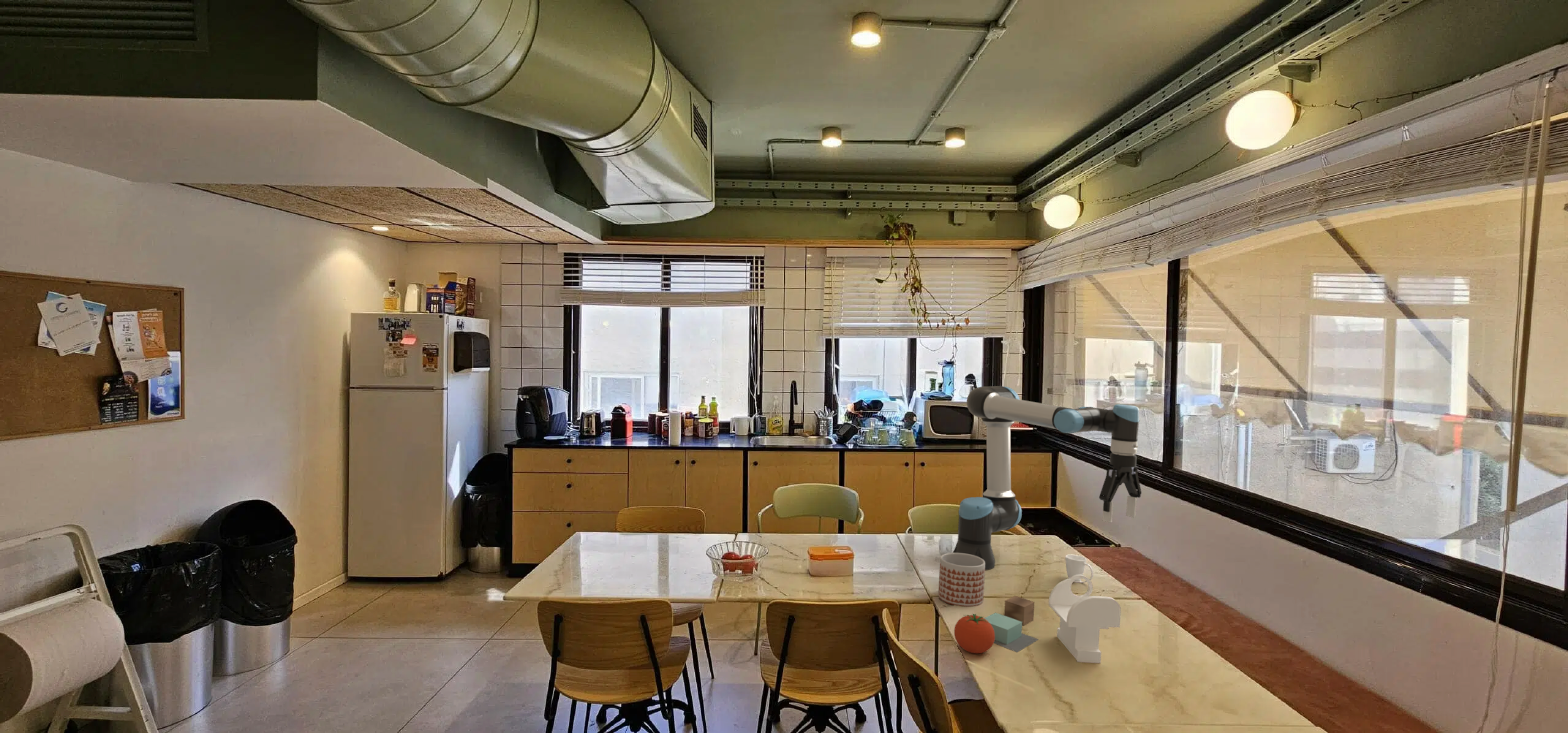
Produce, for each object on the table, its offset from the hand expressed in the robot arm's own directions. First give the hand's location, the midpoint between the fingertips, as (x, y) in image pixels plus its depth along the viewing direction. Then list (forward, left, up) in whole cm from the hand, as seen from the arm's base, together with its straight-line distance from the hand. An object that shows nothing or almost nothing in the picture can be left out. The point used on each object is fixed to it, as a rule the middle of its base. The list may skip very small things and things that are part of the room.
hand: (1119, 519), depth 216 cm
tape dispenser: (+9, -46, -26) cm, 54 cm away
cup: (-14, +6, -26) cm, 31 cm away
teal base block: (-9, -56, -26) cm, 62 cm away
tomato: (-9, -70, -26) cm, 75 cm away
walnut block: (-11, -42, -26) cm, 50 cm away
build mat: (-9, -56, -26) cm, 62 cm away
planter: (-31, -41, -26) cm, 57 cm away
